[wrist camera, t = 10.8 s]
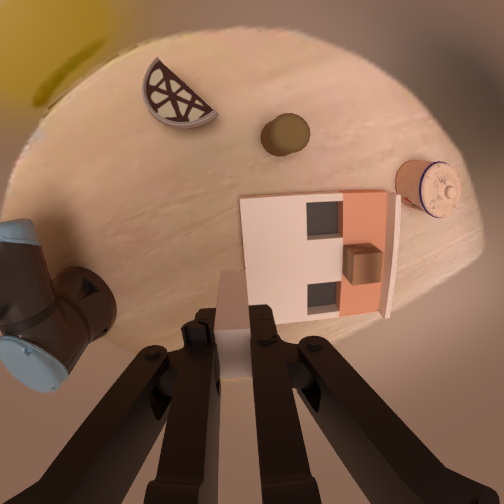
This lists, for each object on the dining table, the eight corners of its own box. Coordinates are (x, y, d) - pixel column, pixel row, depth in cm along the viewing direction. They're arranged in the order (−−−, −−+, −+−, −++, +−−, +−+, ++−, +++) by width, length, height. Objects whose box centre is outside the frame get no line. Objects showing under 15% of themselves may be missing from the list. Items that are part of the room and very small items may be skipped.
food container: (143, 100, 40) (120, 87, 31) (171, 73, 39) (154, 54, 29) (194, 149, 43) (181, 147, 34) (222, 122, 42) (217, 112, 33)
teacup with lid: (390, 205, 47) (427, 219, 36) (395, 155, 44) (434, 157, 33) (439, 211, 48) (477, 226, 37) (444, 166, 45) (484, 172, 34)
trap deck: (249, 317, 53) (251, 336, 47) (239, 196, 46) (239, 202, 40) (376, 302, 53) (389, 318, 48) (384, 189, 46) (401, 194, 41)
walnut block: (342, 273, 48) (352, 285, 43) (343, 244, 46) (354, 254, 41) (368, 270, 48) (380, 282, 43) (370, 242, 46) (383, 252, 41)
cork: (302, 152, 44) (321, 150, 34) (265, 160, 44) (273, 161, 34) (293, 116, 42) (309, 104, 32) (256, 123, 42) (261, 113, 32)
